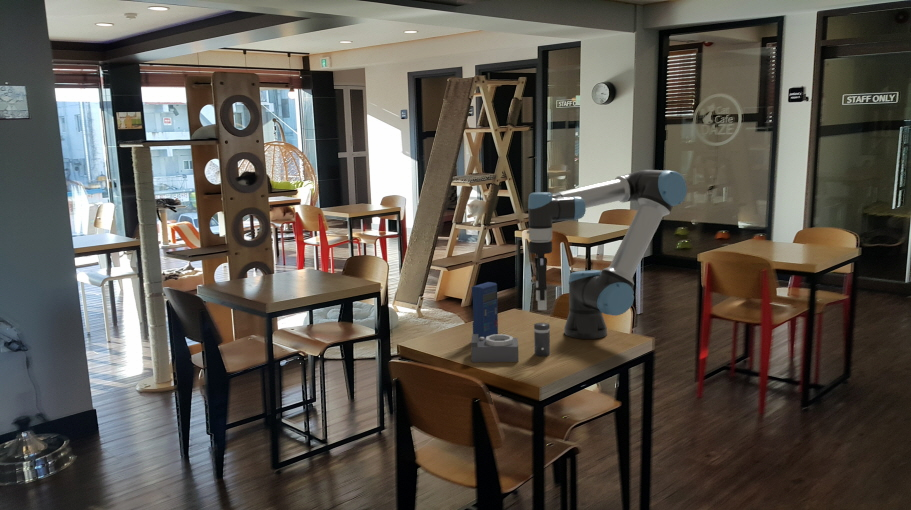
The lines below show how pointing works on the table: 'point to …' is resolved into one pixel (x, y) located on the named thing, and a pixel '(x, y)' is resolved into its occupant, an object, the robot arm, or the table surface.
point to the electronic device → (485, 309)
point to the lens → (542, 339)
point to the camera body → (494, 348)
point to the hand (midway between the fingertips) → (541, 305)
